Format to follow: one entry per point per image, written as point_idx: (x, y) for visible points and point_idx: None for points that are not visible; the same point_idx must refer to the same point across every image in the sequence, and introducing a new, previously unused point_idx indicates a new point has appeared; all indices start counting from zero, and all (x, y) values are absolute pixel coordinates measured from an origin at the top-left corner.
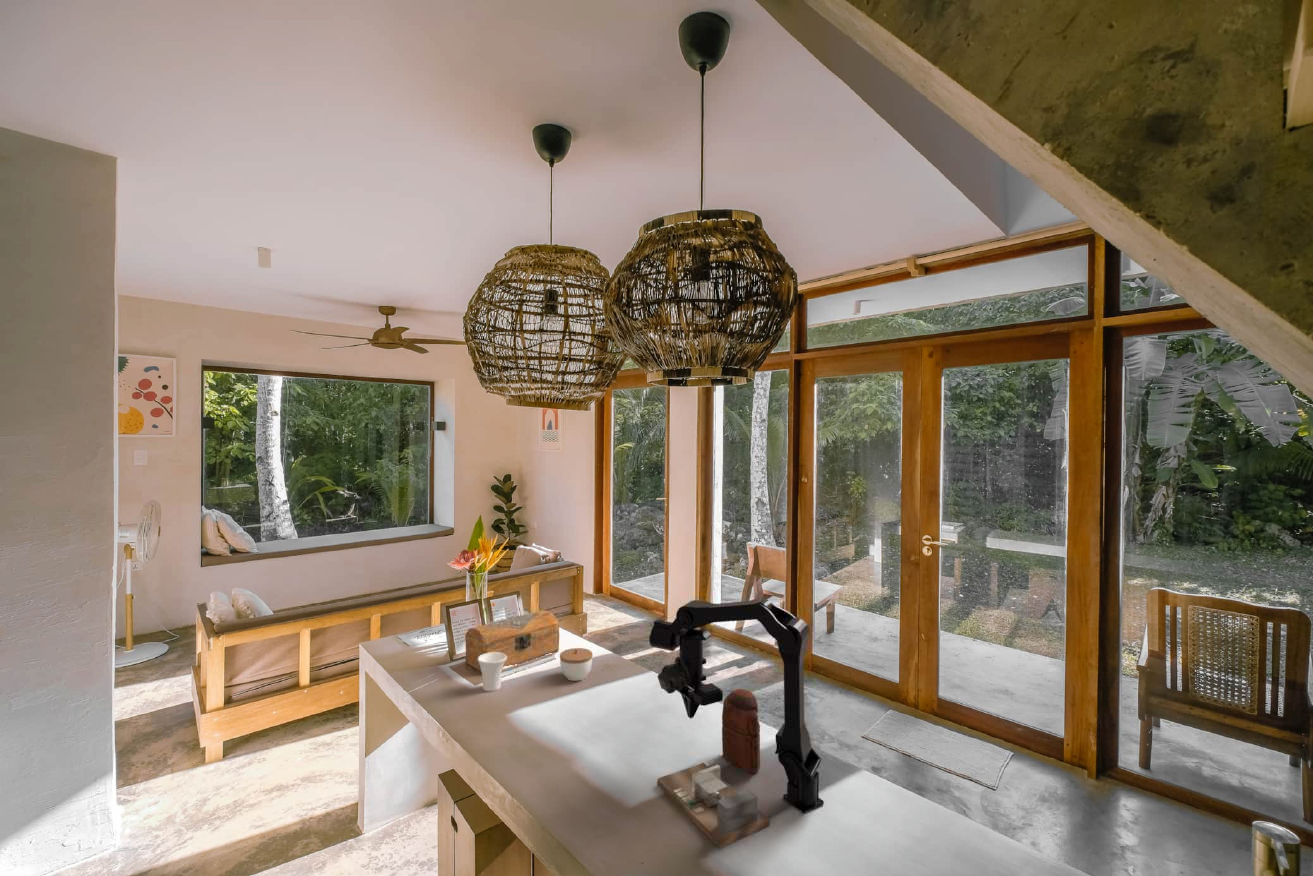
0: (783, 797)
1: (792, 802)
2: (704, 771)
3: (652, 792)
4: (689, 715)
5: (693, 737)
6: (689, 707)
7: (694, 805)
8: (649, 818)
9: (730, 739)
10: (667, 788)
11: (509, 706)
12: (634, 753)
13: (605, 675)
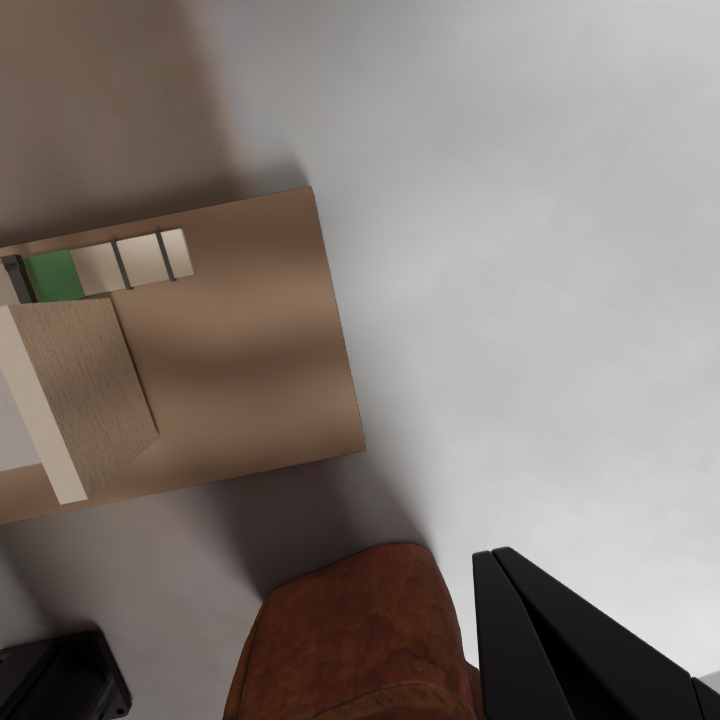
0: (92, 632)
1: (20, 652)
2: (24, 395)
3: (266, 150)
4: (481, 577)
5: (599, 486)
6: (499, 710)
7: (37, 282)
8: (71, 57)
9: (359, 651)
10: (215, 207)
11: None
12: (606, 176)
13: None
